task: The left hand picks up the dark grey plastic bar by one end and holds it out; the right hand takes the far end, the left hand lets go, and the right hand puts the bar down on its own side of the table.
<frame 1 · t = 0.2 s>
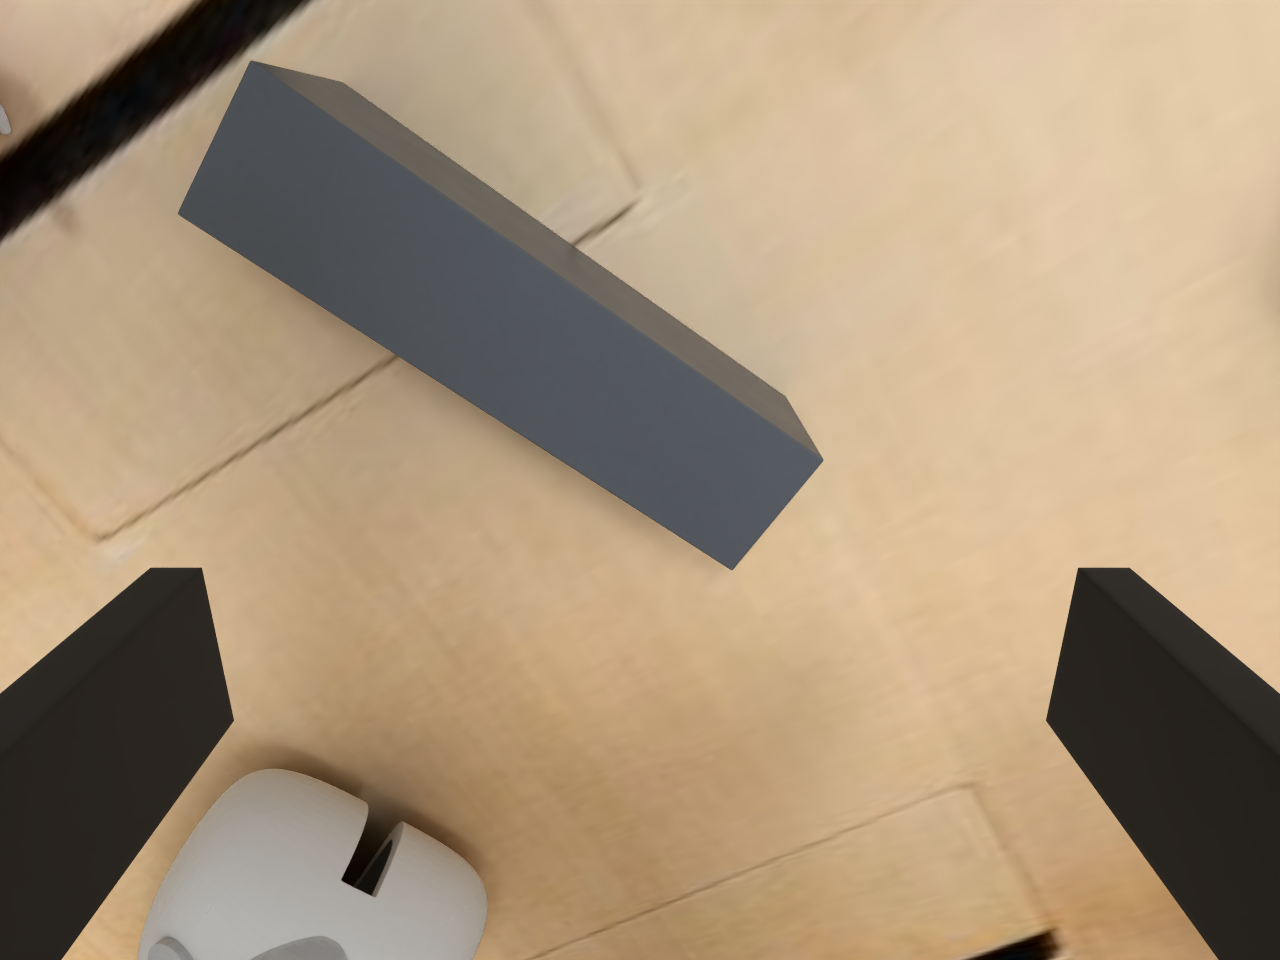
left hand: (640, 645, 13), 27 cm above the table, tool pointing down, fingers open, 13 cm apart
projector: (313, 901, 51), on the table
bar: (544, 303, 38), on the table
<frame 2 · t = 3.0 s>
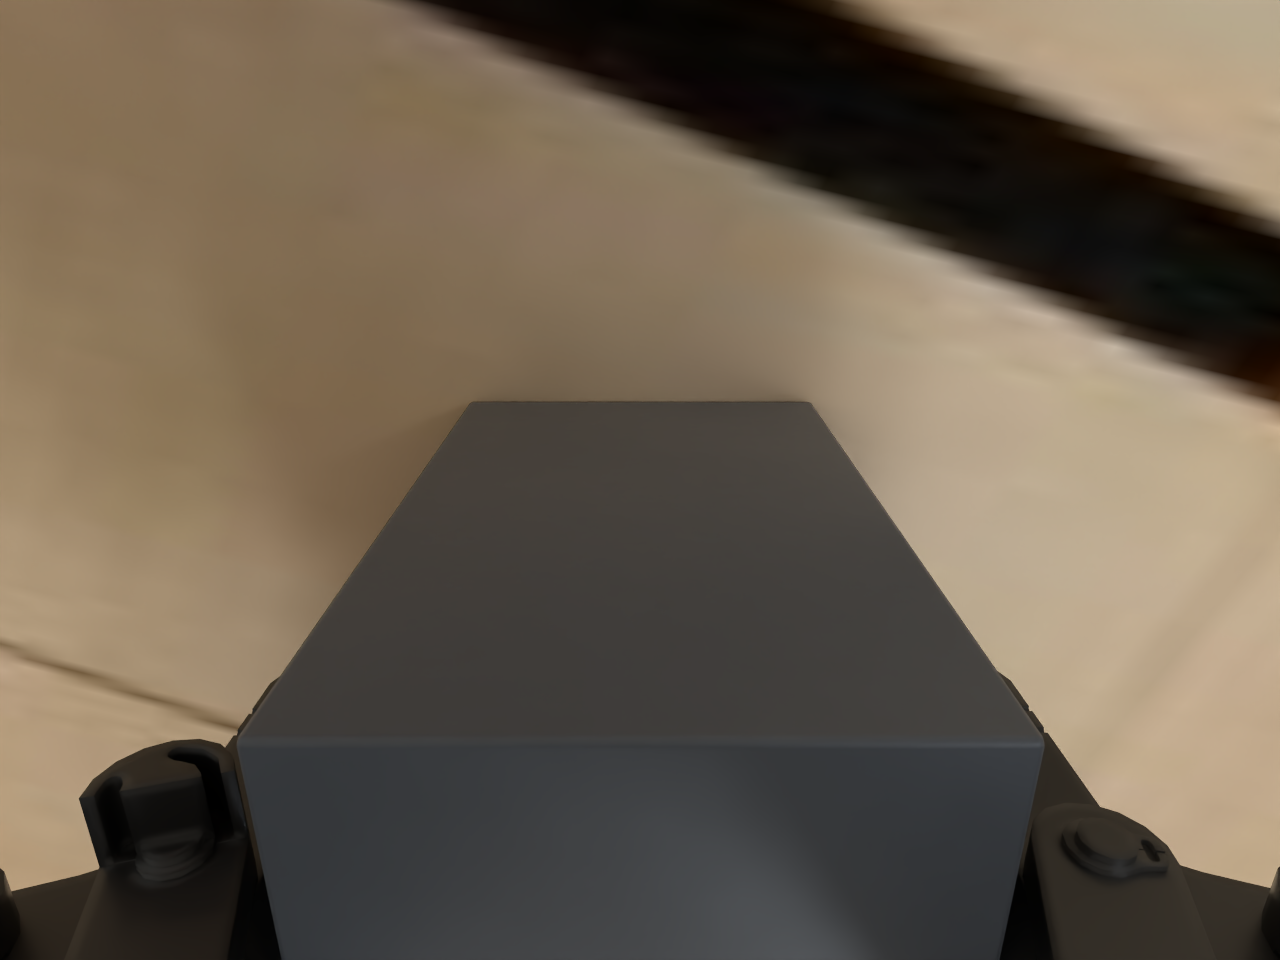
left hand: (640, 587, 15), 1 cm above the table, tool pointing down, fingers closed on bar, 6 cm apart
bar: (640, 923, 18), on the table, touching left hand
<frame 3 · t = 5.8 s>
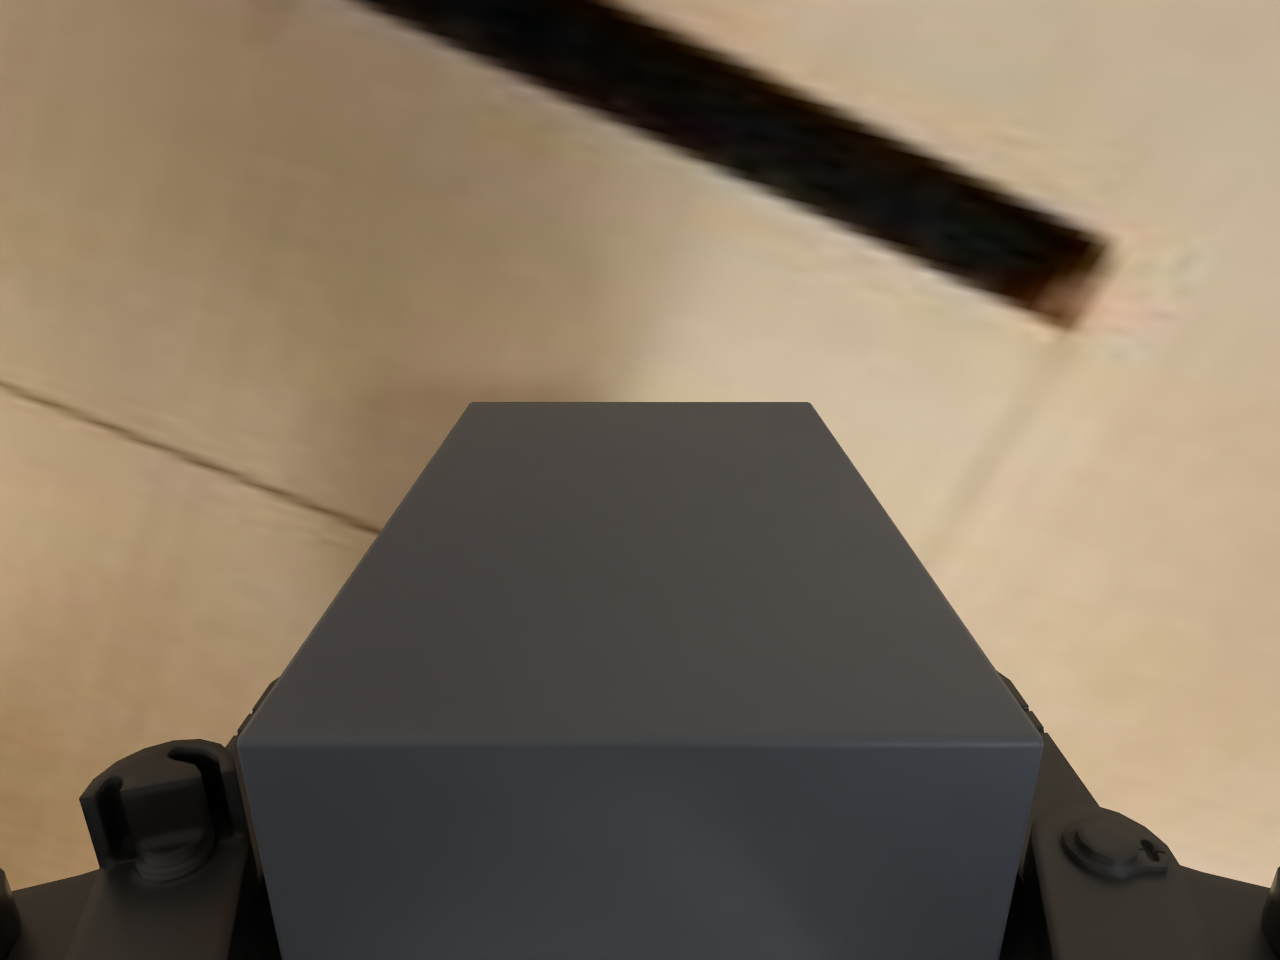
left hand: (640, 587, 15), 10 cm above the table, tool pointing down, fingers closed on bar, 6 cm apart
bar: (640, 923, 18), point 9 cm above the table, touching left hand
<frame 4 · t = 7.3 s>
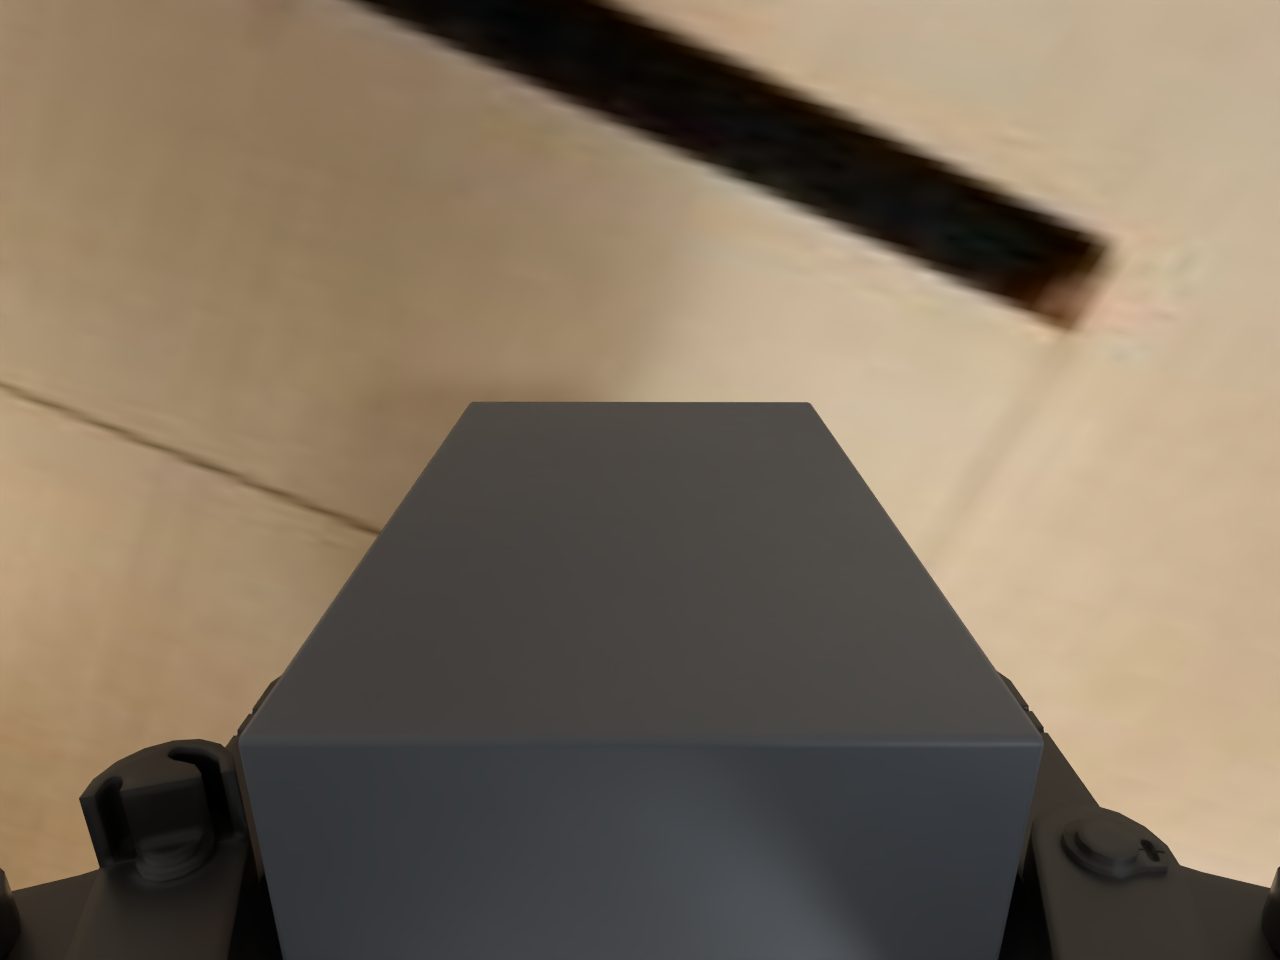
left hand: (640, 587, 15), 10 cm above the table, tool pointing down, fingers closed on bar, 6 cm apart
bar: (639, 923, 18), point 9 cm above the table, touching left hand, right hand
when the left hand's fingers open (10 cm above the table, at t = 8.4 s): bar stays where it is, held by the right hand.
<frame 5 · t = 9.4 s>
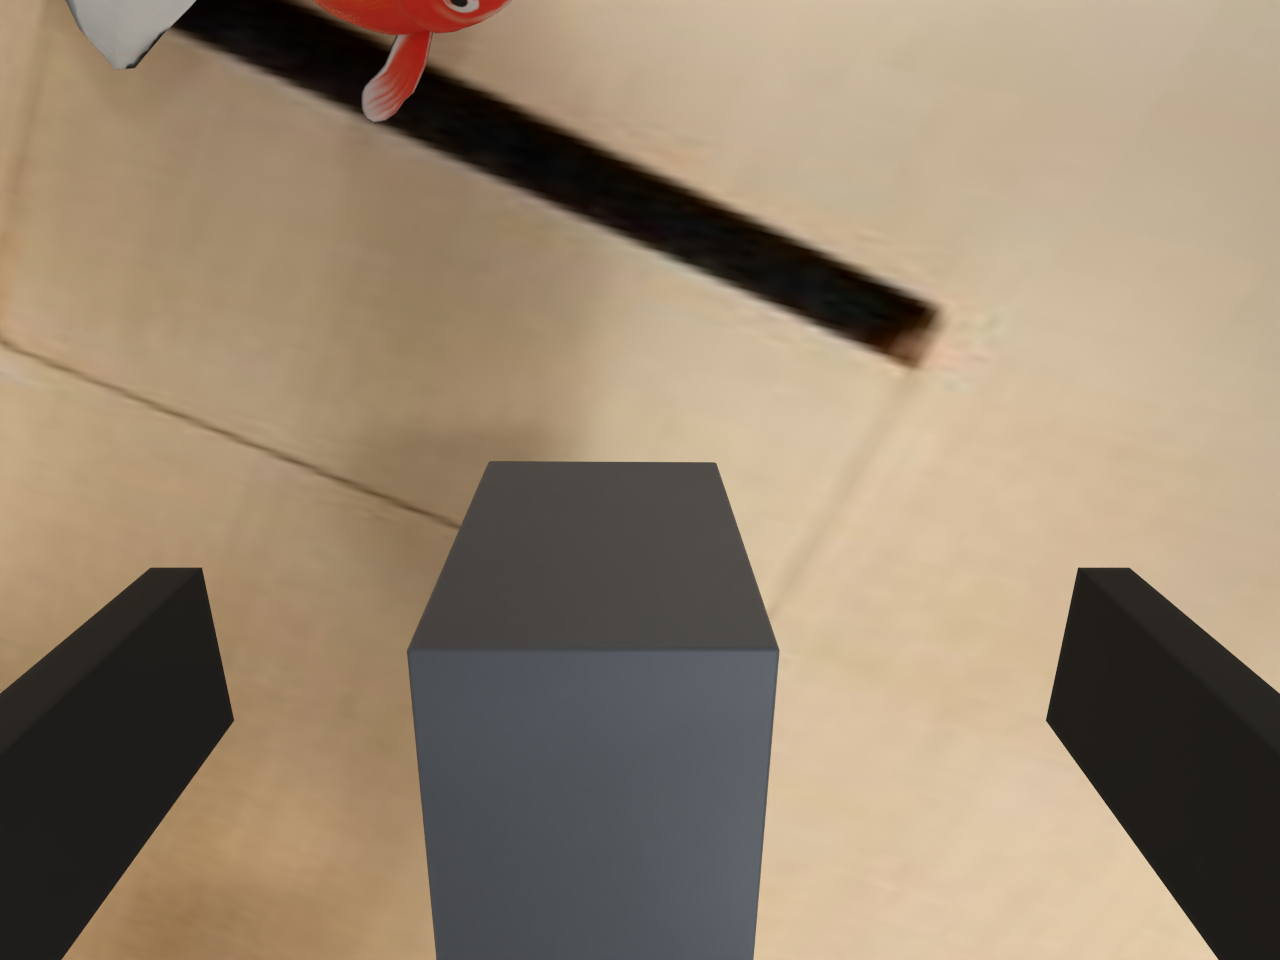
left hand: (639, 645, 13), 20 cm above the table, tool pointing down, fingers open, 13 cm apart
bar: (603, 832, 25), point 12 cm above the table, touching right hand
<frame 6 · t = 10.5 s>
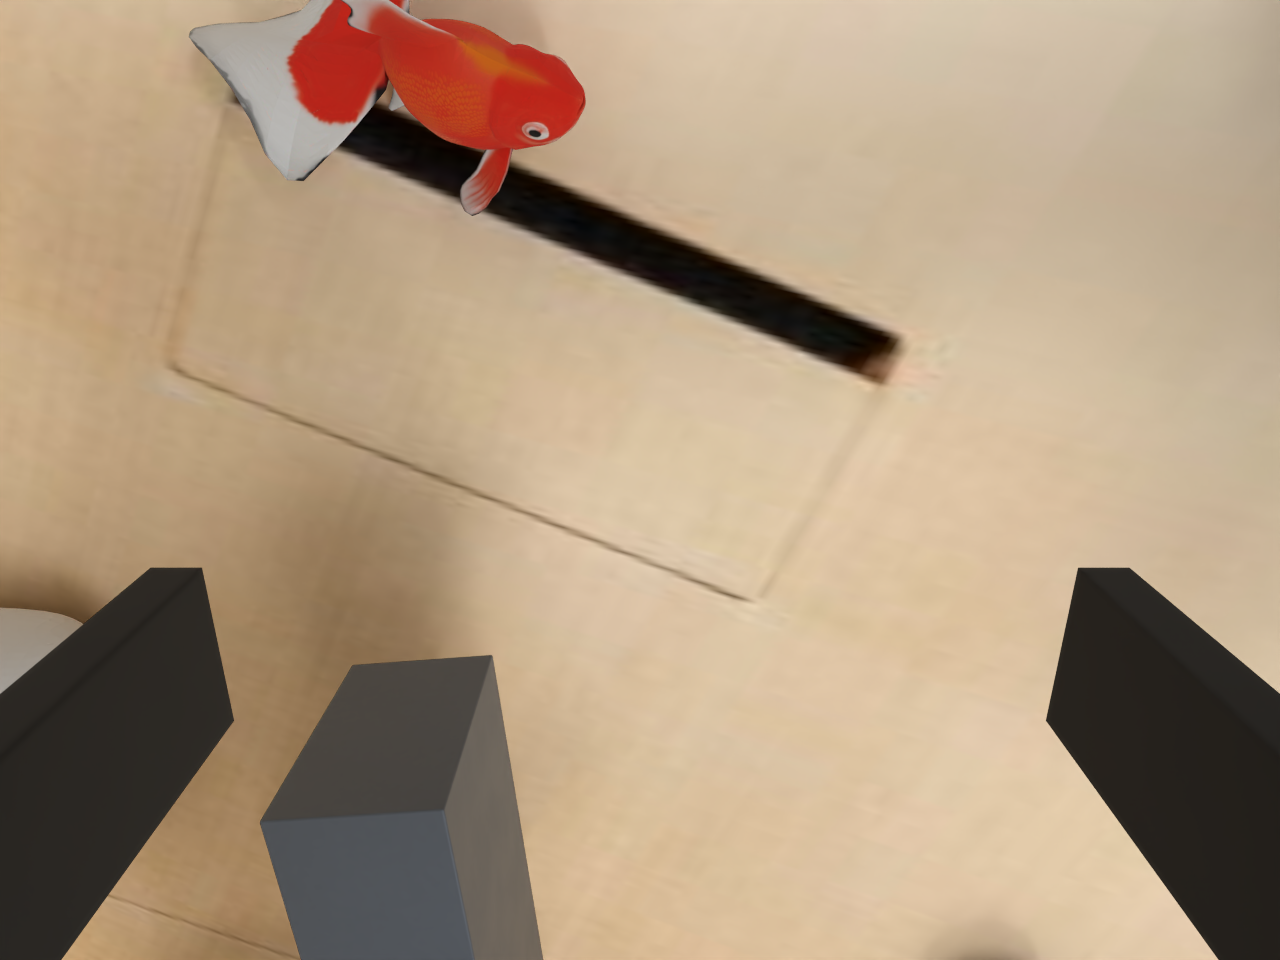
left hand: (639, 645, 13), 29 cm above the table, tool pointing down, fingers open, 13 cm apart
fish: (410, 79, 36), on the table
bar: (467, 884, 37), point 11 cm above the table, touching right hand
when the right hand's fingers open (5 cm above the table, at t = 14.0 s): bar stays where it is, on the table.
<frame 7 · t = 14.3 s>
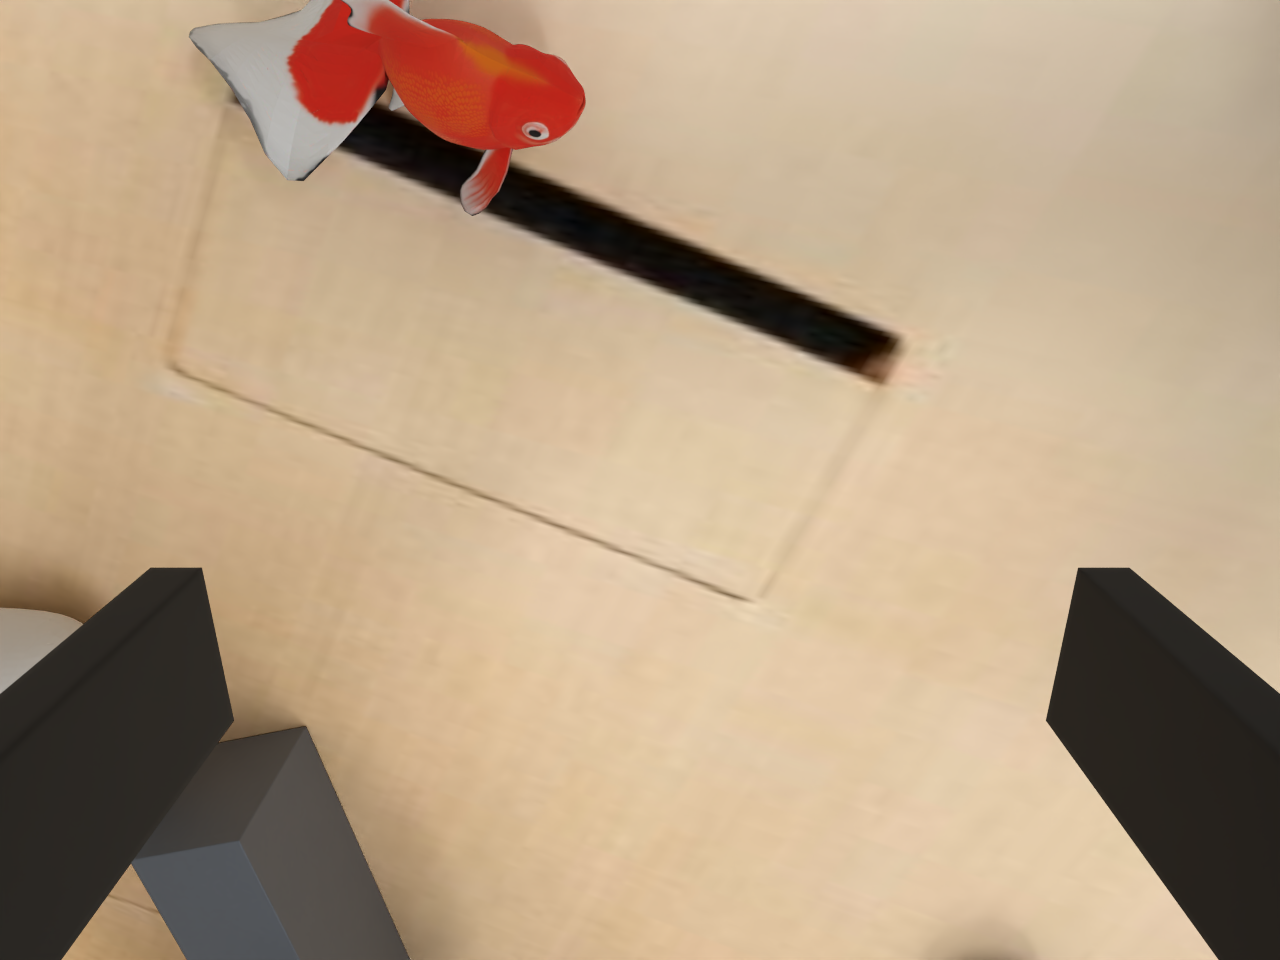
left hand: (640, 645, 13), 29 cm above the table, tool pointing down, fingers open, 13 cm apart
fish: (410, 79, 36), on the table
bar: (330, 884, 52), on the table
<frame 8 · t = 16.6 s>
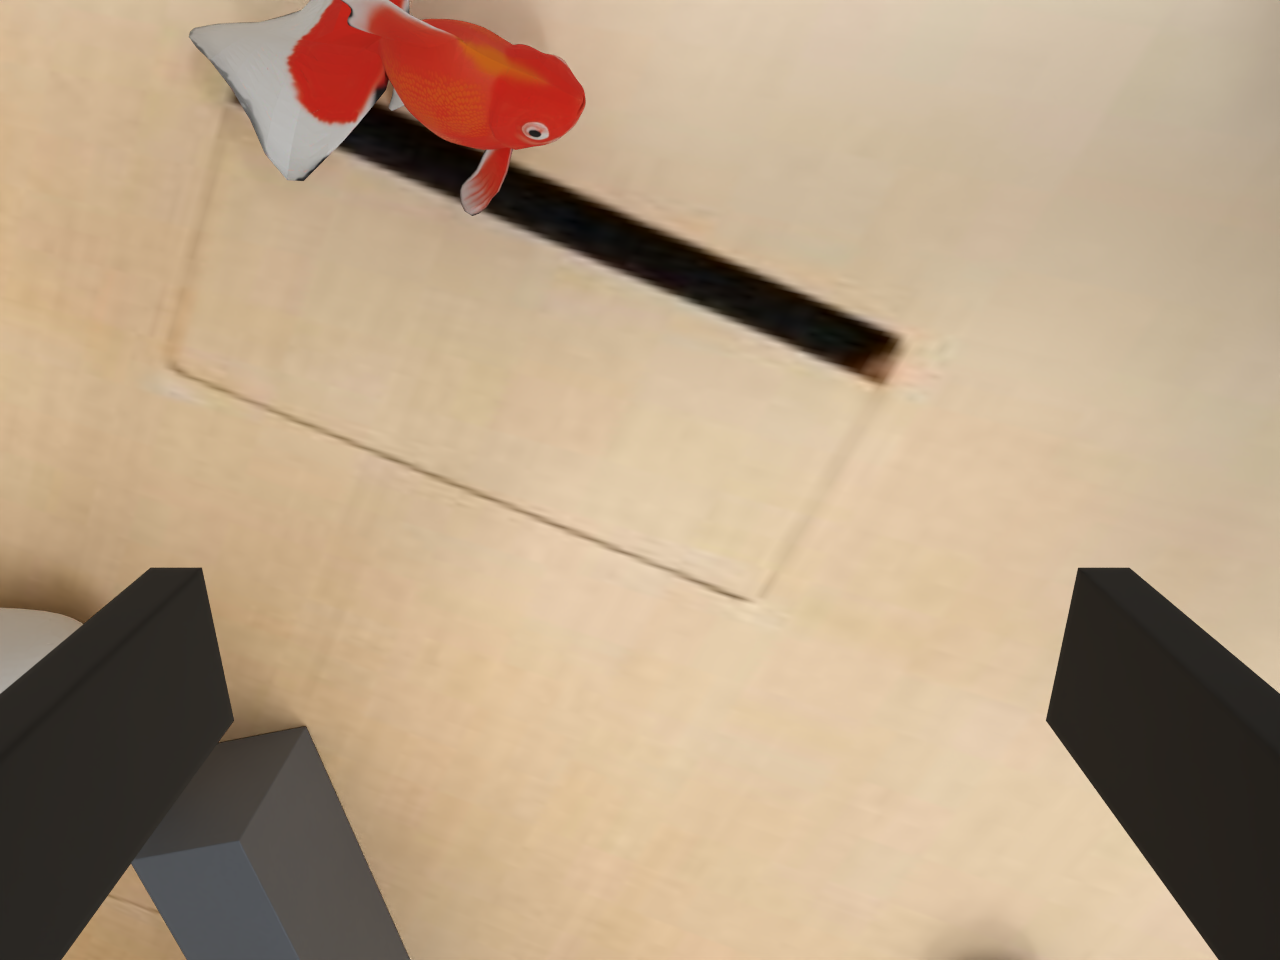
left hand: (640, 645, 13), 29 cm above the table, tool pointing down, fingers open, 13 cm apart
fish: (410, 79, 36), on the table
bar: (330, 884, 52), on the table
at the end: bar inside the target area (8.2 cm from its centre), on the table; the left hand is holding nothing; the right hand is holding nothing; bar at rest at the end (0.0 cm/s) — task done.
